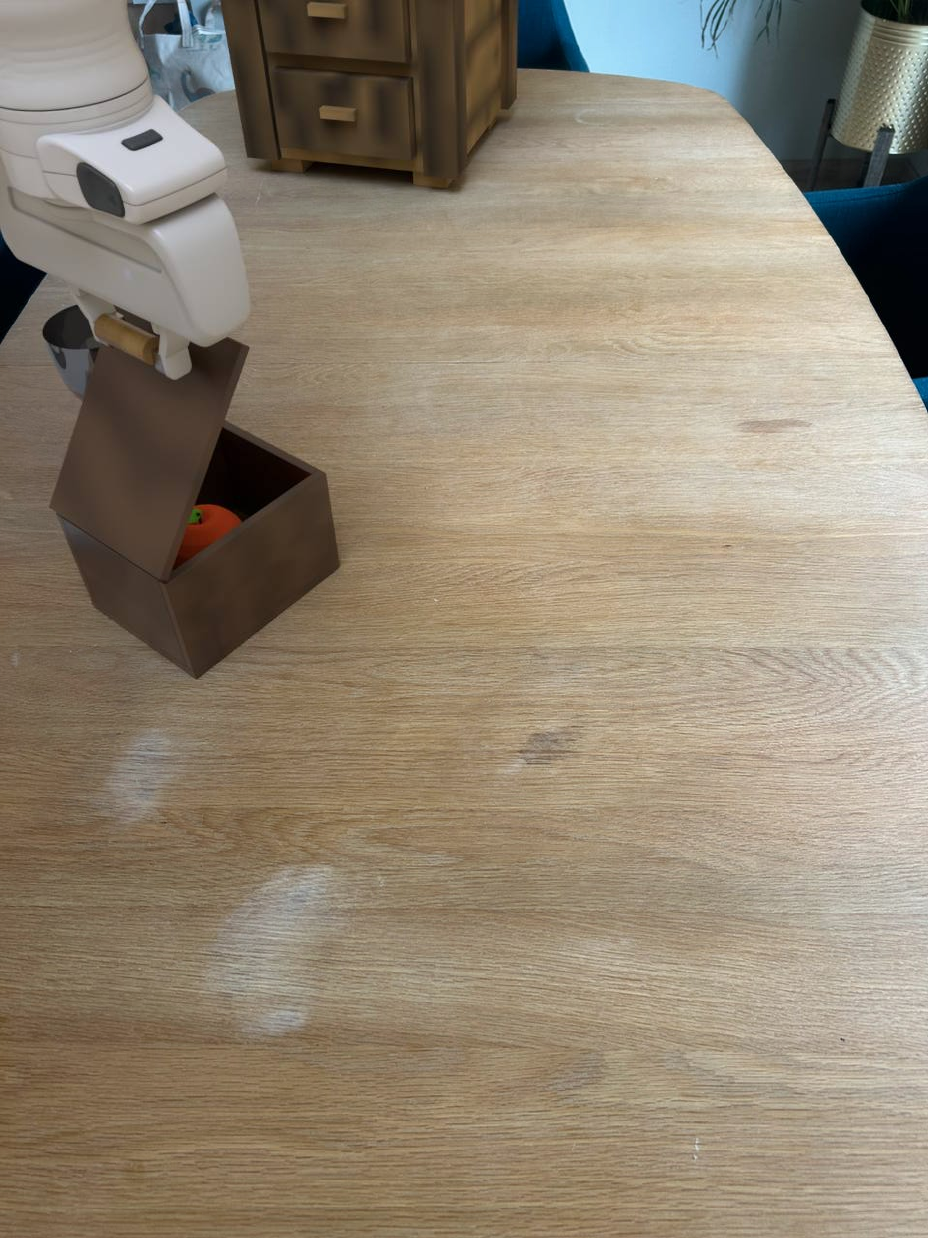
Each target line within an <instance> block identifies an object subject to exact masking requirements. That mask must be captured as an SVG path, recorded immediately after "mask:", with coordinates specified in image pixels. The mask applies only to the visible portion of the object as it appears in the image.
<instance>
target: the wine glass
mask: <svg viewBox="0 0 928 1238" xmlns="http://www.w3.org/2000/svg"><path fill="white" fill-rule="evenodd" d="M41 335H42V338H43V341H44V344H45V347H46V350H47V352H48V354H49V357H50V359H51V361H52V364H53V366H54V367H55V370H56V372H57V373H58V375H59V377H60V379H61V380H62V382H63V383H64V385H65V386H66V388H67V389H68V390H69V391H70V392H71V394H72V395H73V396H74V397H75V398H76V399H78V400H79V401H80V402H81V403H82V402H83V399H84V395H85V392H86V389H87V386H88V383H89V380H90V377H91V373H92V370H93V367H94V364H95V361H96V358H97V354H98V351H99V348H100V345H101V343H100V342H98V341H96V340H95V338H94V335H93V332H92V329H91V326H90V323H89V320H88V319H87V318H86V317H85V315H84V314H83V312H82V311H81V309H80V308H79V306H78V305H77V304H74V305H70V306H68V307H65V308H63V309H62V310H60V311H58V312H56V313H54V314H53V315H52V316H50V318H48V320H47V321H46V322H45V323H44V325H43V327H42V331H41Z"/></svg>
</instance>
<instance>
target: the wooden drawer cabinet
mask: <svg viewBox="0 0 928 1238" xmlns="http://www.w3.org/2000/svg"><path fill="white" fill-rule="evenodd" d="M219 3H220V4H219V5H220V9H221V15H222V20H223V26H224V32H225V37H226V43H227V49H228V50H227V51H228V55H229V61H230V67H231V71H232V78H233V84H234V90H235V96H236V101H237V108H238V112H239V119H240V125H241V130H242V136H243V141H244V147H245V148H244V149H245V154H246V158H247V159H258V160H264V161H265V160H267V161H270V163H271V170H272V171H281V172H290V173H297V174H298V173H300V174H303V173H305V172H306V171H307V170H308V168H310V167H311V166H312V165H313V164H314V163H315V162H321V163H328V164H329V163H331V164H341V165H347V166H348V165H349V166H357V167H360V166H361V167H369V168H376V169H377V168H378V169H388V170H398V171H407V172H412V181H413V186H420V187H430V188H439V189H447V188H448V187H449V186H450V184H451V183H452V182H453V180H454V181H455V180H459V178H460V177H461V175H462V174H463V173H464V171H465V170H466V169H467V167H468V154H469V153H470V151H471V150H472V149H473V147H474V146H475V144H476V143H477V142H478V141H479V139H480V138H481V137H482V135H483V134H484V133H485V131H488V132H489V131H491V128H492V127H493V126H494V125H495V123H496V122H497V121H498V114H499V112H500V111H501V110H505V111H506V110H507V111H509V110H510V109H511V107H512V106H513V105H514V103H515V102H516V100H517V97H518V96H517V92H518V91H517V89H518V88H517V87H518V85H517V84H518V34H519V33H518V31H519V30H518V26H519V0H219Z"/></svg>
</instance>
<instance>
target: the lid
mask: <svg viewBox="0 0 928 1238" xmlns="http://www.w3.org/2000/svg"><path fill="white" fill-rule="evenodd" d="M114 307H115V309H116V312H118V313H120V314H122V315H124V318H125V321H124V320H122V319H120V318H118V317H116V316H114V315H112V314H109V313H105V314H102V315H100V316H99V317H98V318H97V319H96V321H95V323H94V333H95V335H96V337H97V338H98V339H100V340H102V341H104V342H106V343H108V344H110V345H112V346H114V347H115V348H110V347H108V346H106V345H104V344H102V343H101V345H100V348H99V351H98V354H97V358H96V361H95V364H94V367H93V370H92V373H91V377H90V380H89V383H88V386H87V389H86V392H85V395H84V399H83V402H82V401H81V404H80V408H79V412H78V414H77V418H76V421H75V424H74V427H73V430H72V434H71V437H70V438H69V439H70V440H69V442H68V446H67V449H66V452H65V455H64V459H63V462H62V465H61V468H60V471H59V475H58V478H57V481H56V484H55V487H54V489H53V493H52V496H51V499H50V502H49V506H48V508H49V509H50V510H52V511H53V512H55V513H58V514H60V515H61V516H63V517H64V518H66V519H67V520H69V521H70V522H72V523H73V524H75V525H76V526H78V527H79V528H81V529H82V530H84V531H85V532H87V533H88V534H90V535H92V536H93V537H95V538H96V539H98V540H99V541H101V542H102V543H104V544H105V545H107V546H108V547H110V548H111V549H113V550H114V551H116V552H117V553H119V554H120V555H122V556H123V557H125V558H127V559H128V560H130V561H131V562H133V563H134V564H136V565H137V566H139V567H140V568H142V569H143V570H145V571H146V572H148V573H149V574H151V575H152V576H154V577H155V578H157V579H158V580H164V581H168V580H169V577H170V574H171V571H172V568H173V565H174V562H175V560H176V557H177V554H178V551H179V548H180V545H181V543H182V540H183V537H184V534H185V531H186V528H187V525H188V523H189V520H190V517H191V514H192V511H193V508H194V506H195V503H196V500H197V497H198V494H199V491H200V489H201V486H202V483H203V480H204V477H205V474H206V471H207V469H208V466H209V463H210V460H211V457H212V454H213V452H214V449H215V446H216V443H217V440H218V437H219V435H220V432H221V429H222V426H223V423H224V420H226V418H227V415H228V413H229V412H228V411H229V409H230V406H231V403H232V400H233V398H234V395H235V391H236V389H237V386H238V383H239V380H240V378H241V375H242V372H243V368H244V366H245V363H246V360H247V358H248V356H249V353H250V349H251V347H250V346H249V345H248V344H245V343H243V342H241V341H238V340H236V339H234V338H232V337H230V336H228V337H226V338H224V339H222V340H221V341H219V342H217V343H215V344H213V345H211V346H208V347H202V346H199V345H197V344H195V343H193V342H191V341H190V342H189V346H188V351H189V355H190V359H191V363H192V368H191V370H190V372H189V373H187V374H186V375H184V376H182V377H180V378H179V379H177V380H172V379H171V378H169V377H167V376H165V375H163V374H161V373H159V372H158V371H157V370H156V368H155V362H154V360H153V357H152V353H151V350H153V349H155V348H157V347H159V342H160V334H159V335H158V334H156V333H154V331H153V329H152V325H151V322H149V321H147V320H145V319H143V318H140V317H138V316H136V315H134V314H132V313H130V312H128V311H126V310H124V309H122V308H119V307H117V306H115V305H114Z"/></svg>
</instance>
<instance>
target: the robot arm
mask: <svg viewBox="0 0 928 1238" xmlns="http://www.w3.org/2000/svg"><path fill="white" fill-rule="evenodd" d="M128 11H129V10H128V0H0V233H1V235H2V238H3V240H4V242H5V244H6V245H7V246H8V248H9V249H10V251H11V253H12V254H13V256H14V257H15V258H16V259H17V260H19V261H20V262H22V263H24V264H27V265H29V266H32V267H34V268H35V269H38V270H40V271H42V272H44V273H46V274H48V275H50V276H52V277H54V278H56V279H58V280H61V281H63V282H65V285H66V288H67V292H68V293H69V295H70V296H71V297H72V299H73V301H74V302H75V304H76V305H78V306H79V308H80V309H81V311H82V312H83V314H84V315H85V317H86V318H87V319H88V320H89V323H90V326H91V329H92V332H93V335H94V338H95V340H96V341H98V342H100V343H102V344H104V345H106V346H108V347H110V348H115V347H114V346H112V345H110V344H108V343H106V342H104V341H102V340H100V339H98V338H97V337H96V335H95V333H94V323H95V321H96V319H97V318H98V317H99V316H100V315H102V314H105V313H109V314H112V315H114V316H116V317H118V318H120V319H122V320H124V321H125V318H124V315H122V314H120V313H118V312H116V309H115V307H114V305H115V306H117V307H119V308H122V309H124V310H126V311H128V312H130V313H132V314H134V315H136V316H138V317H140V318H143V319H145V320H147V321H149V322H151V325H152V329H153V331H154V333H156V334H158V335H159V334H160V342H159V347H157V348H155V349H153V350H151V353H152V357H153V360H154V362H155V368H156V370H157V371H158V372H159V373H161V374H163V375H165V376H167V377H169V378H171V379H172V380H177V379H179V378H180V377H182V376H184V375H186V374H187V373H189V372H190V370H191V368H192V363H191V359H190V355H189V351H188V346H189V342H190V341H191V342H193V343H195V344H197V345H199V346H202V347H208V346H211V345H213V344H215V343H217V342H219V341H221V340H222V339H224V338H226V337H230V336H231V335H233V334H235V333H237V332H238V331H240V330H241V329H243V328H244V327H245V325H246V323H247V322H248V320H249V317H250V316H251V313H252V299H251V294H250V285H249V281H248V275H247V274H248V273H247V269H246V268H247V267H246V264H245V259H244V255H243V250H242V245H241V240H240V237H239V232H238V228H237V226H236V222H235V220H234V217H233V215H232V212H231V209H229V207H228V205H227V204H226V203H225V201H224V199H223V198H222V197H221V196H220V195H219V194H218V193H216V192H218V191H219V190H221V189H223V188H224V187H226V186H227V185H228V181H229V174H228V169H227V167H228V166H227V163H226V160H225V157H224V155H223V153H222V151H221V149H220V148H219V147H218V146H217V145H215V144H214V143H213V142H212V141H211V140H209V139H208V138H207V137H205V136H204V135H203V134H201V133H200V132H199V131H198V130H196V129H195V128H194V127H193V126H192V125H190V123H188V122H187V121H185V120H184V118H182V117H181V116H180V115H179V114H178V113H177V112H176V111H175V110H174V109H173V108H172V107H171V106H170V104H168V102H167V101H166V100H165V99H164V98H163V97H161V96H160V95H159V94H154V89H153V85H152V81H151V77H150V73H149V68H148V65H147V61H146V59H145V57H144V54H143V53H142V51H141V49H140V47H139V45H138V43H137V41H136V39H135V36H134V33H133V30H132V27H131V24H130V19H129V12H128Z"/></svg>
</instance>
